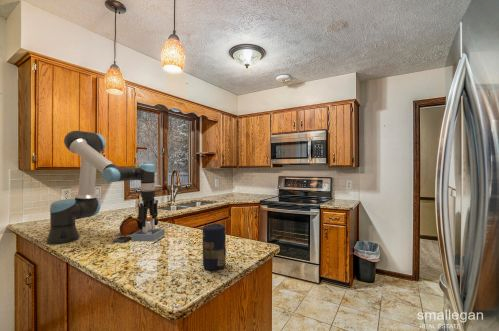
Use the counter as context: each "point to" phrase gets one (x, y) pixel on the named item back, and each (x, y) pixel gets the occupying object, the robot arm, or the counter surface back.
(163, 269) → the counter surface
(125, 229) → the tool
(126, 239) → the collar plate
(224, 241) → the canister
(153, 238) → the bin
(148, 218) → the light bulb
